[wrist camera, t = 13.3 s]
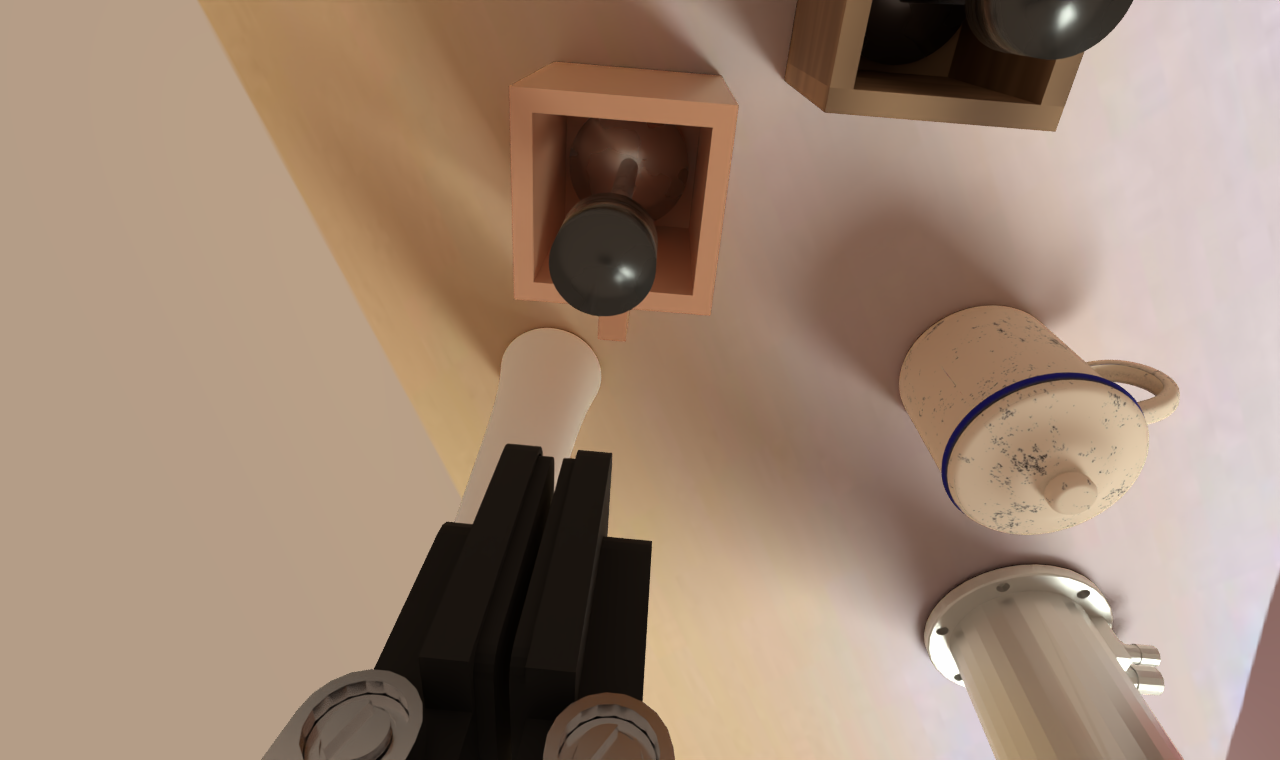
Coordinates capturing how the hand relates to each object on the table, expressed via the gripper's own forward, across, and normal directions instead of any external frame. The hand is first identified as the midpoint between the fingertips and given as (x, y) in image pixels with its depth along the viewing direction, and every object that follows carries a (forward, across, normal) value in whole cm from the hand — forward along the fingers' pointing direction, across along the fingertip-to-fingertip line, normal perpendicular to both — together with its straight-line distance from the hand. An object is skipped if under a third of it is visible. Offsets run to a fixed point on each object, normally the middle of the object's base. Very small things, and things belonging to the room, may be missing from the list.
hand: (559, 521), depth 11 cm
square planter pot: (+27, +1, -1) cm, 27 cm away
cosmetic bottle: (+27, +5, +12) cm, 30 cm away
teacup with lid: (+28, -21, +9) cm, 36 cm away
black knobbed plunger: (+25, +1, -1) cm, 25 cm away
